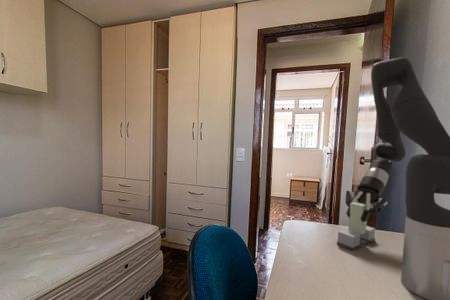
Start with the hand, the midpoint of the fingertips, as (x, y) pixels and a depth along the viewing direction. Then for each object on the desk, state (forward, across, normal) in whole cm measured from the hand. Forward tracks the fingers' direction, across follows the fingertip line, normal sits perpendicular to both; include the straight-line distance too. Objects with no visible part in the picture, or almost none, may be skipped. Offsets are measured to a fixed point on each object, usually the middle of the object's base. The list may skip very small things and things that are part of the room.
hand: (355, 218), depth 77 cm
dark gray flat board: (+5, 0, +8) cm, 9 cm away
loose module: (+2, 0, +5) cm, 5 cm away
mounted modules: (+5, 0, +8) cm, 9 cm away
